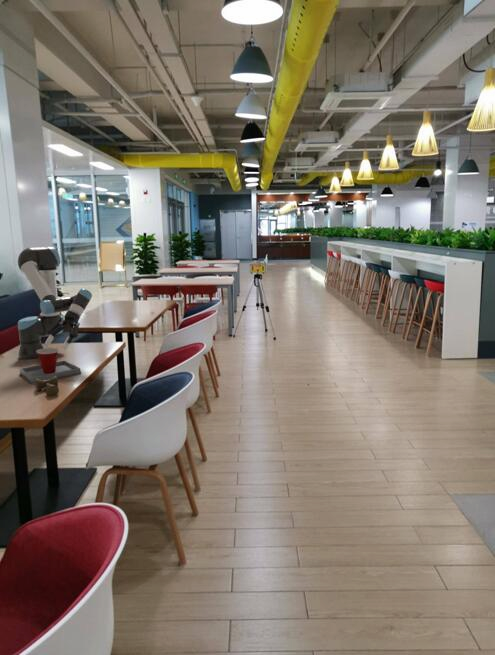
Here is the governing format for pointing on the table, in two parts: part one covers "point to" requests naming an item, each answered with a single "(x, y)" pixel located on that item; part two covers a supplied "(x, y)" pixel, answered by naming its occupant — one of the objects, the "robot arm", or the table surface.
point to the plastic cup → (48, 359)
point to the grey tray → (61, 371)
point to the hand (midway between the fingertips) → (54, 347)
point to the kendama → (48, 385)
